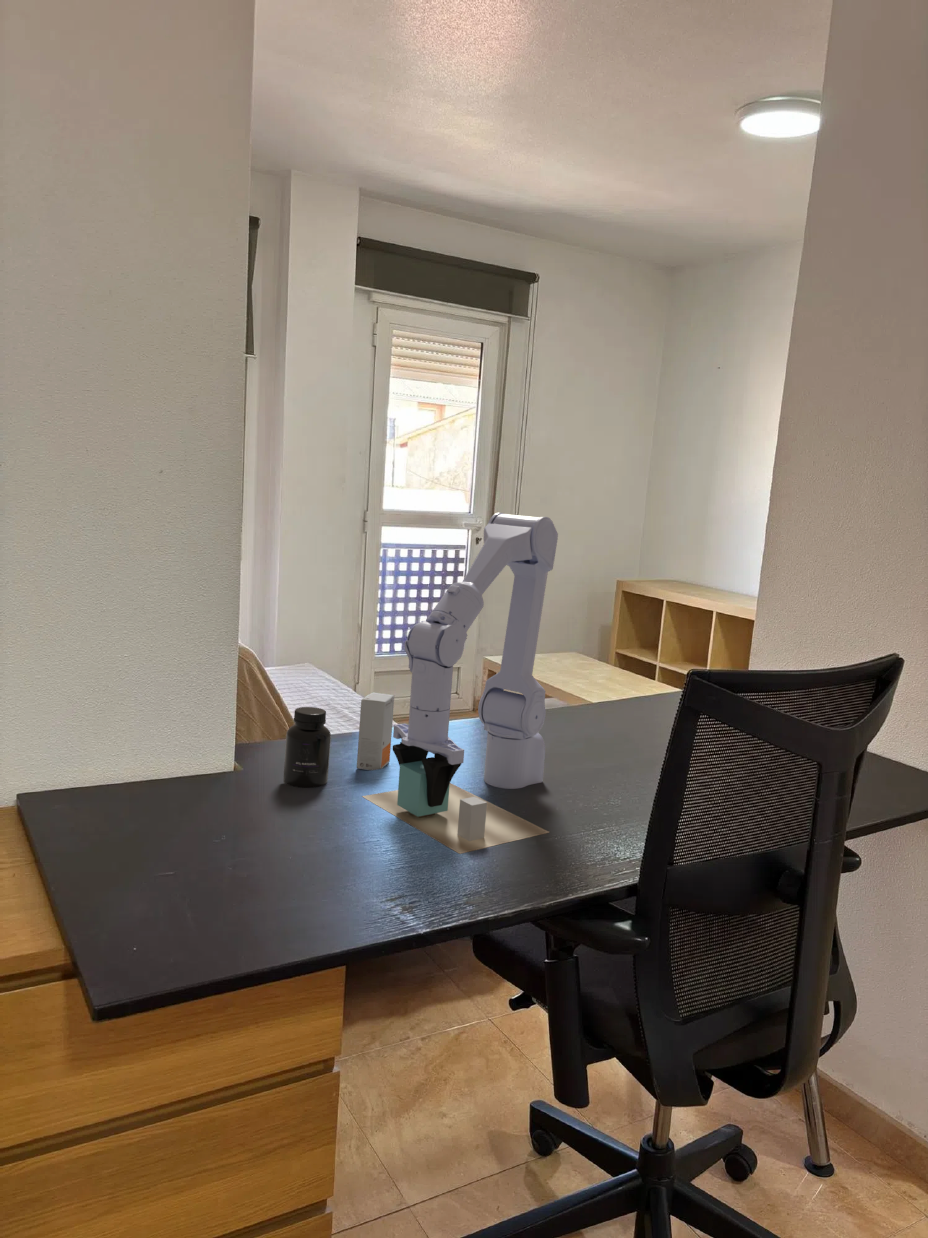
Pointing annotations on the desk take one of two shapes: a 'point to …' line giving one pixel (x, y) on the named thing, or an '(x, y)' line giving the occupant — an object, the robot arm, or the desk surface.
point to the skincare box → (375, 731)
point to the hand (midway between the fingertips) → (423, 799)
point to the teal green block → (416, 790)
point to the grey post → (472, 818)
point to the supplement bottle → (307, 749)
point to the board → (445, 824)
